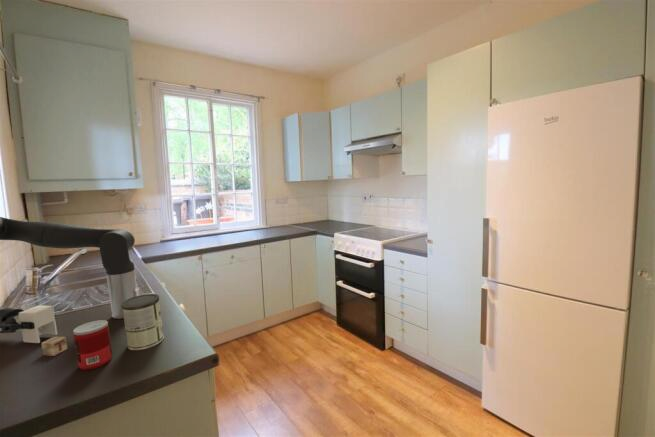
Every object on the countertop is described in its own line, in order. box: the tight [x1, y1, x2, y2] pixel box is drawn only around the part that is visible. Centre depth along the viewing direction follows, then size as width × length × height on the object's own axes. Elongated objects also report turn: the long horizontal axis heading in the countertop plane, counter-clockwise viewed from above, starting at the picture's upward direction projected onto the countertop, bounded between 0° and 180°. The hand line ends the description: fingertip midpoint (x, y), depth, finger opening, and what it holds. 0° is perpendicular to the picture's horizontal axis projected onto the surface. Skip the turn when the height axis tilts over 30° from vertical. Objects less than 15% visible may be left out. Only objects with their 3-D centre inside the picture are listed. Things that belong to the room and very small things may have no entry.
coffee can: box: [121, 293, 165, 351], centre depth 99 cm, size 10×10×14 cm
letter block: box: [41, 335, 68, 357], centre depth 97 cm, size 4×4×4 cm
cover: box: [19, 304, 58, 344], centre depth 104 cm, size 6×6×10 cm
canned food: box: [72, 319, 113, 371], centre depth 89 cm, size 8×8×11 cm
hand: (44, 321), depth 103 cm, fingers closed on cover, 5 cm apart
